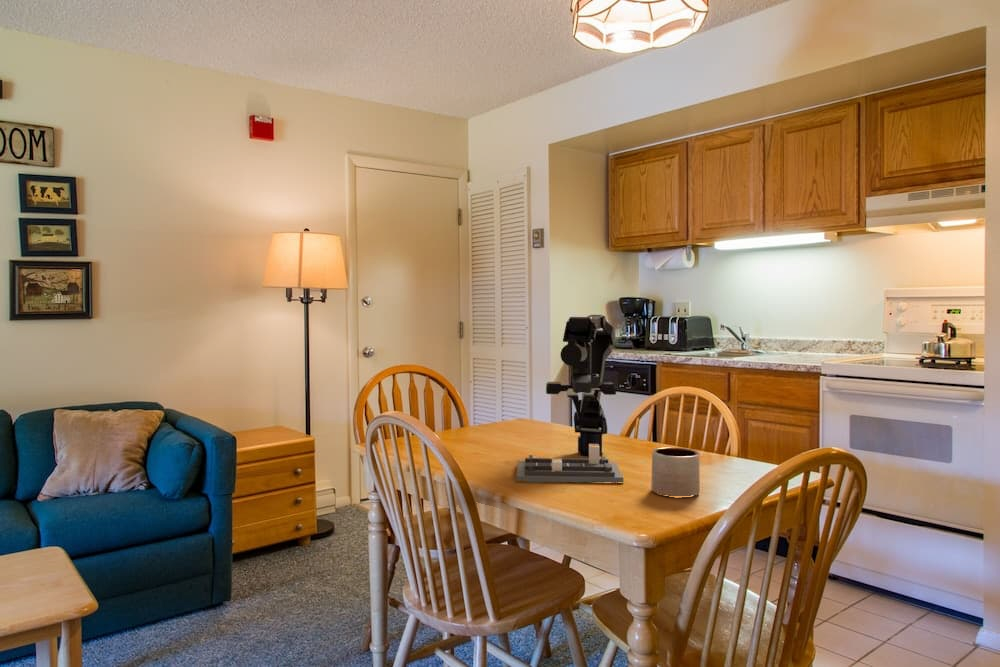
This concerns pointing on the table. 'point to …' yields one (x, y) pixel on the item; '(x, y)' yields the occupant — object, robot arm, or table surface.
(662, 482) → the planter
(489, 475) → the table surface
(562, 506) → the table surface
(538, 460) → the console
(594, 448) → the fader
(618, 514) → the table surface
